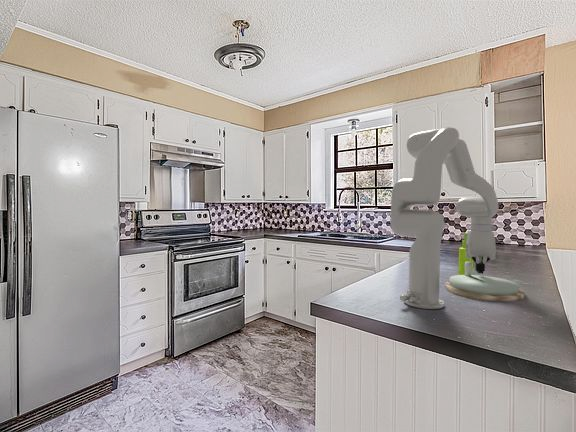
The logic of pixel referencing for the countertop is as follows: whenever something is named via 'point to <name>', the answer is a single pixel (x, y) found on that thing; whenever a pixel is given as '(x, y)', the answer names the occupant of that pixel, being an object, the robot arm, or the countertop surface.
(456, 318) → the countertop surface
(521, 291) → the base
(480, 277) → the dial
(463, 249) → the soap dispenser
